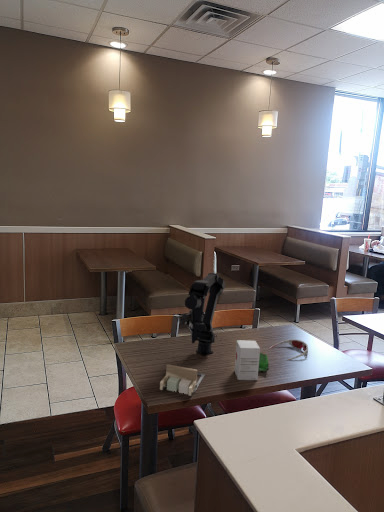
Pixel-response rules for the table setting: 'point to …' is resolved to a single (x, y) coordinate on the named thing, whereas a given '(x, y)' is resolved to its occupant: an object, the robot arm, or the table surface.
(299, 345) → the sunglasses
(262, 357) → the snack package
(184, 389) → the cream block
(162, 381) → the toy sofa
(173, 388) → the sage block
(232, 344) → the table surface
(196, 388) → the steel handle
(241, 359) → the supplement box
